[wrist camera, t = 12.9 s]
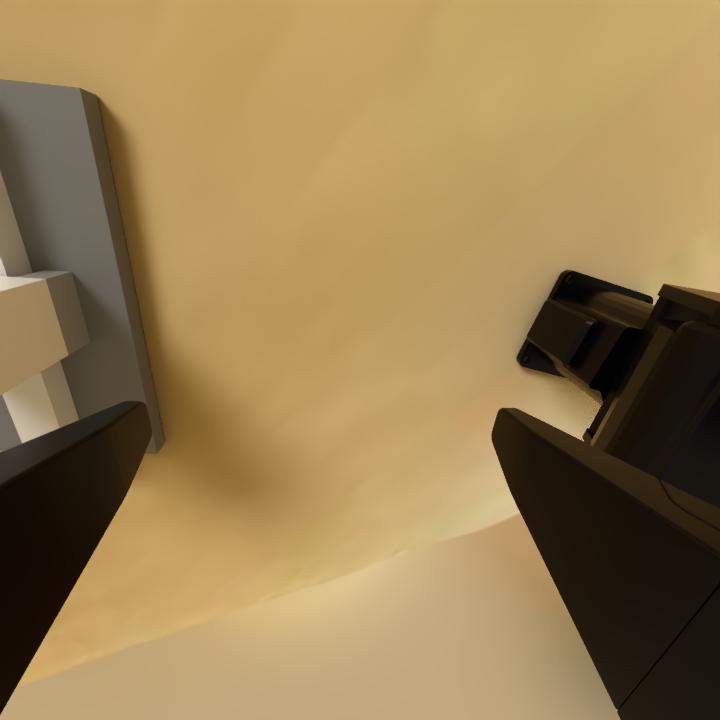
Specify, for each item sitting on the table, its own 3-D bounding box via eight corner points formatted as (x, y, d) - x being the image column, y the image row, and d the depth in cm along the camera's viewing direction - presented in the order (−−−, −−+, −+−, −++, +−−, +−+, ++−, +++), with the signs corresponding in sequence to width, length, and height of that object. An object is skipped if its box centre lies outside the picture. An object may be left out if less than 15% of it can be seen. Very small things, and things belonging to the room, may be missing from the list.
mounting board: (-172, 66, 15) (-271, 40, 13) (96, 95, 16) (54, 77, 14) (-5, 438, 23) (-45, 466, 21) (164, 442, 24) (145, 469, 22)
